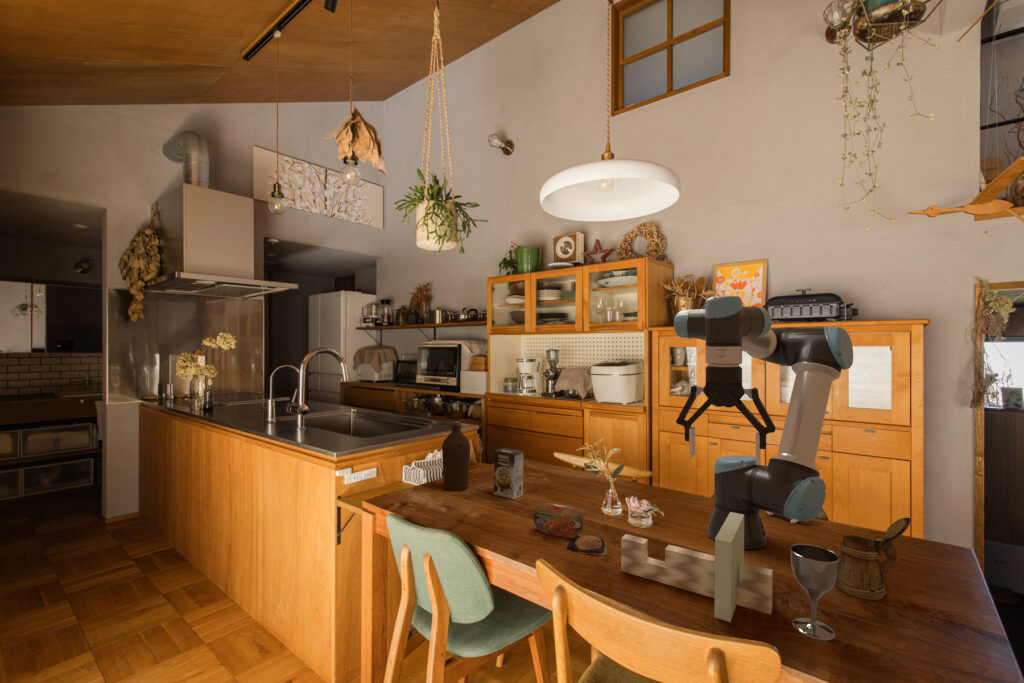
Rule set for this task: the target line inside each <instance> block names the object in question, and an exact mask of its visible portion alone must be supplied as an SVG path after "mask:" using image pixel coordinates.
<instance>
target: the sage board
mask: <svg viewBox="0 0 1024 683" xmlns="http://www.w3.org/2000/svg"><path fill="white" fill-rule="evenodd" d="M714 556H715V598H714V608H713V609H714V615H713V616H714V618H715V619H719V620H722V621H725V622H728V623H731V622H732V619H733V616H734V614H735V610H736V607H737V605H736V586H737V584H738V581H739V582H742V566H743V563H745V549H744V514H738V513H733V512H730V513H729V515H728V517H727V518H726V520H725V522H724V524H723V526H722V527H721V529H720V531H719V533H718V534H717V536H716V538H715V541H714Z"/></svg>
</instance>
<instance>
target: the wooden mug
mask: <svg viewBox="0 0 1024 683" xmlns="http://www.w3.org/2000/svg"><path fill="white" fill-rule="evenodd" d="M911 522H912V519H911V517H902V518H899V519H897V520H896V521H894V522H893V523H892V524H891V525H890V526H889V527H888V528H886V531H885V533H884V535H883V537H882V538H874V539H873V540H871V539H869V538H867V537H865V536H861V535H853V534H847V535H843V538H842V541H841V543H840V547H839V549H840V550H841V553H840V558H839V568H838V576H837V580H836V583H835V585H834V586H836V587H837V588H838V589H839V590H841V591H842V592H844V593H846V594H847V595H849V596H853V597H855V598H859V599H863V600H869V601H870V600H871V601H873V600H874V601H879V600H882V599H883V598H885V596H886V588H885V586H884V582H885V578H886V576H887V574H888V572H890V571H891V569H893V566H895V564H896V562H897V559H898V552H897V548H896V547H895V545H894V544H893V542H895V541H896V540H898V539H899V538H900V537H901V536H903V534H905V532H906V531H907V530H908V528H909V527H910V525H911ZM880 551H881V552H884V554H885V555H886V559H885V561H882V562H880V558H881V557H882V553H881V552H880Z"/></svg>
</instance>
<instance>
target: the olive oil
mask: <svg viewBox="0 0 1024 683" xmlns="http://www.w3.org/2000/svg"><path fill="white" fill-rule="evenodd" d="M461 422H462V421H461V420H453V421H451V432H449V434H448V436H447V435H446V436H447V437H445V439H444V440H443V442H442V446H441V450H442V451H441V455H442V457H441V458H442V478H443V479H442V480H443V481H442V482H443V489H444V490H446V491H448V492H460V491H464V490H467V489H468V488H469V481H470V480H469V479H470V478H469V477H470V475H469V474H470V458H471V457H470V456H471V444H470V441H469V439H468V438H467V436H466V435H465V434H464V433H463V432H462V429H461V428H462V424H461Z"/></svg>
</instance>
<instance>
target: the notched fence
mask: <svg viewBox="0 0 1024 683" xmlns="http://www.w3.org/2000/svg"><path fill="white" fill-rule="evenodd" d="M620 543H621V544H620V545H621V546H620V547H621V548H620V549H621V550H620V551H621V552H620V556H621V557H620V560H621V562H620V568H621V569H620V571H621V572H623V573H627V574H630V575H633V576H637V577H641V578H644V579H646V580H647V579H648V580H651V581H655V582H658V583H661V584H665V585H668V586H671V587H675V588H679V589H682V590H685V591H689V592H692V593H696V594H697V595H698V594H699V595H702V596H706V597H709V598H713V599H715V554H714V555H713V554H709V553H705V552H701V551H696V550H693V549H690V548H684V547H681V546H677V545H671V544H668V545H666V547H665V549H664V557H665V558H664V560H661V559H657V558H656V559H655V558H652V557H650V556H648V555H649V550H648V549H649V547H648V546H649V544H648V543H649V540H648V539H647V538H643V537H640V536H635V535H632V534H628V533H625V534H624V535H623V536H622V537H621V542H620ZM773 573H774V572H773V569H769V568H766V567H762V566H757V565H754V564H750V563H746V562H744V563H743V566H742V582H739V581H738V584H737V586H736V606H740V607H744V608H747V609H751V610H754V611H757V612H760V613H764V614H767V615H772V613H773V612H772V610H773V585H774V584H773V579H774V578H773V576H774V575H773Z"/></svg>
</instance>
